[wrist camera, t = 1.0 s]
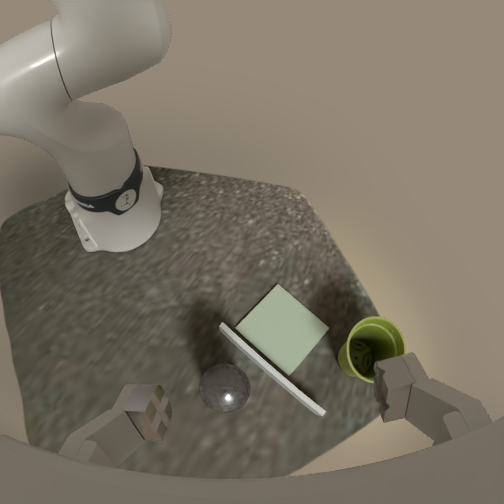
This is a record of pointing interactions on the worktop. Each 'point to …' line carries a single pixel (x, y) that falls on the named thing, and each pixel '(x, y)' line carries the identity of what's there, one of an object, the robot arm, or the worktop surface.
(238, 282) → the worktop surface
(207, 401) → the canister
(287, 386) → the wall
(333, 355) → the worktop surface
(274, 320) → the pad
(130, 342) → the worktop surface
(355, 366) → the plant pot
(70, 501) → the robot arm
